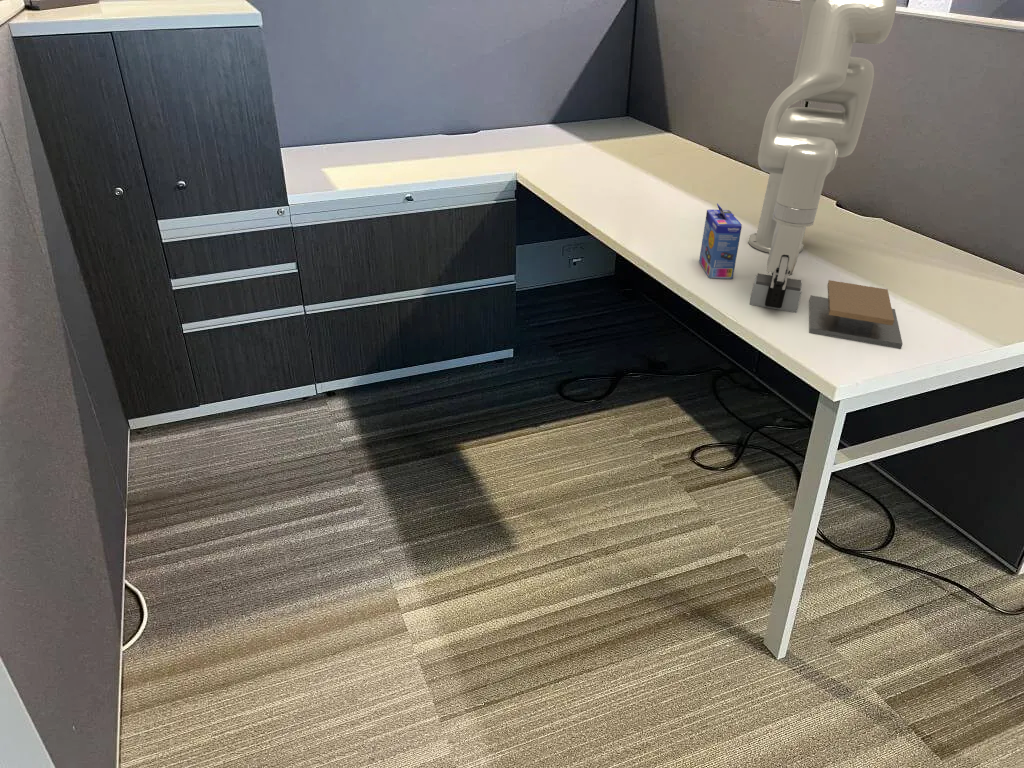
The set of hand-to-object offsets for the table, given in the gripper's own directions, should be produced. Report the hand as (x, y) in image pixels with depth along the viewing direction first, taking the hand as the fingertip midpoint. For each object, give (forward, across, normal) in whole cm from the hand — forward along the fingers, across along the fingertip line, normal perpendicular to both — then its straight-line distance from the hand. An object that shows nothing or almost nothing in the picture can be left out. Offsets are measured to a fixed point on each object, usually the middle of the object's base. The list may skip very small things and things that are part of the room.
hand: (773, 300), depth 153 cm
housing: (+1, 0, 0) cm, 1 cm away
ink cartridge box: (+1, -13, -13) cm, 18 cm away
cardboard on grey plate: (+1, +3, +15) cm, 15 cm away
